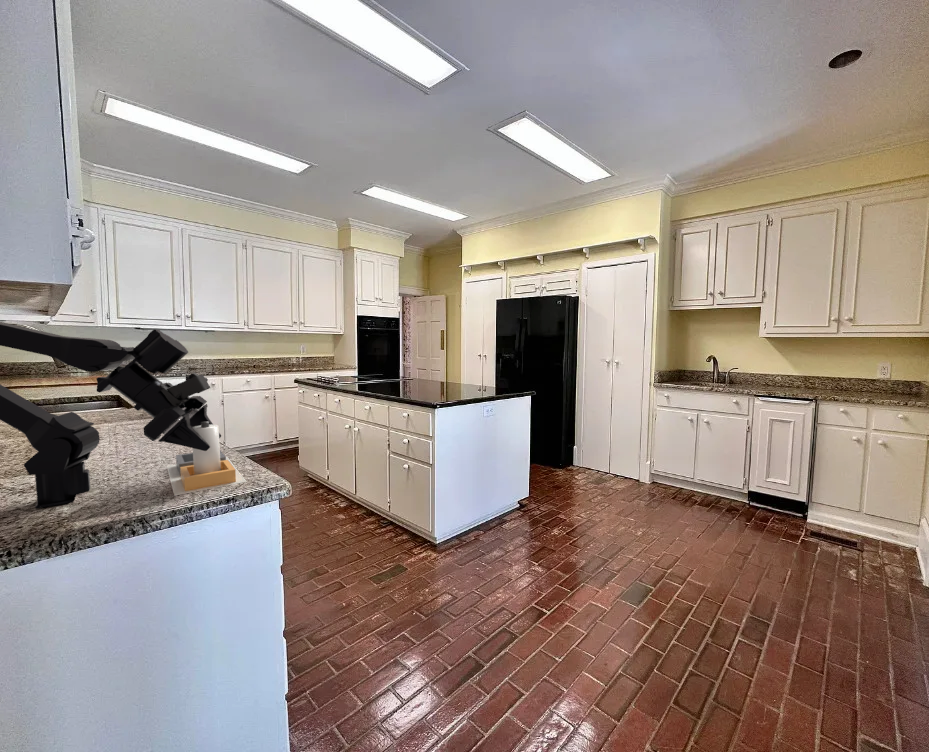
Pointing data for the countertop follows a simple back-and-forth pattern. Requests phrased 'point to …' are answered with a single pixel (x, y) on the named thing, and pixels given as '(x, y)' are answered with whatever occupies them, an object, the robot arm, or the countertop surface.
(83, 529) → the countertop surface
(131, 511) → the countertop surface
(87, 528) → the countertop surface
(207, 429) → the white bottle
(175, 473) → the dock
